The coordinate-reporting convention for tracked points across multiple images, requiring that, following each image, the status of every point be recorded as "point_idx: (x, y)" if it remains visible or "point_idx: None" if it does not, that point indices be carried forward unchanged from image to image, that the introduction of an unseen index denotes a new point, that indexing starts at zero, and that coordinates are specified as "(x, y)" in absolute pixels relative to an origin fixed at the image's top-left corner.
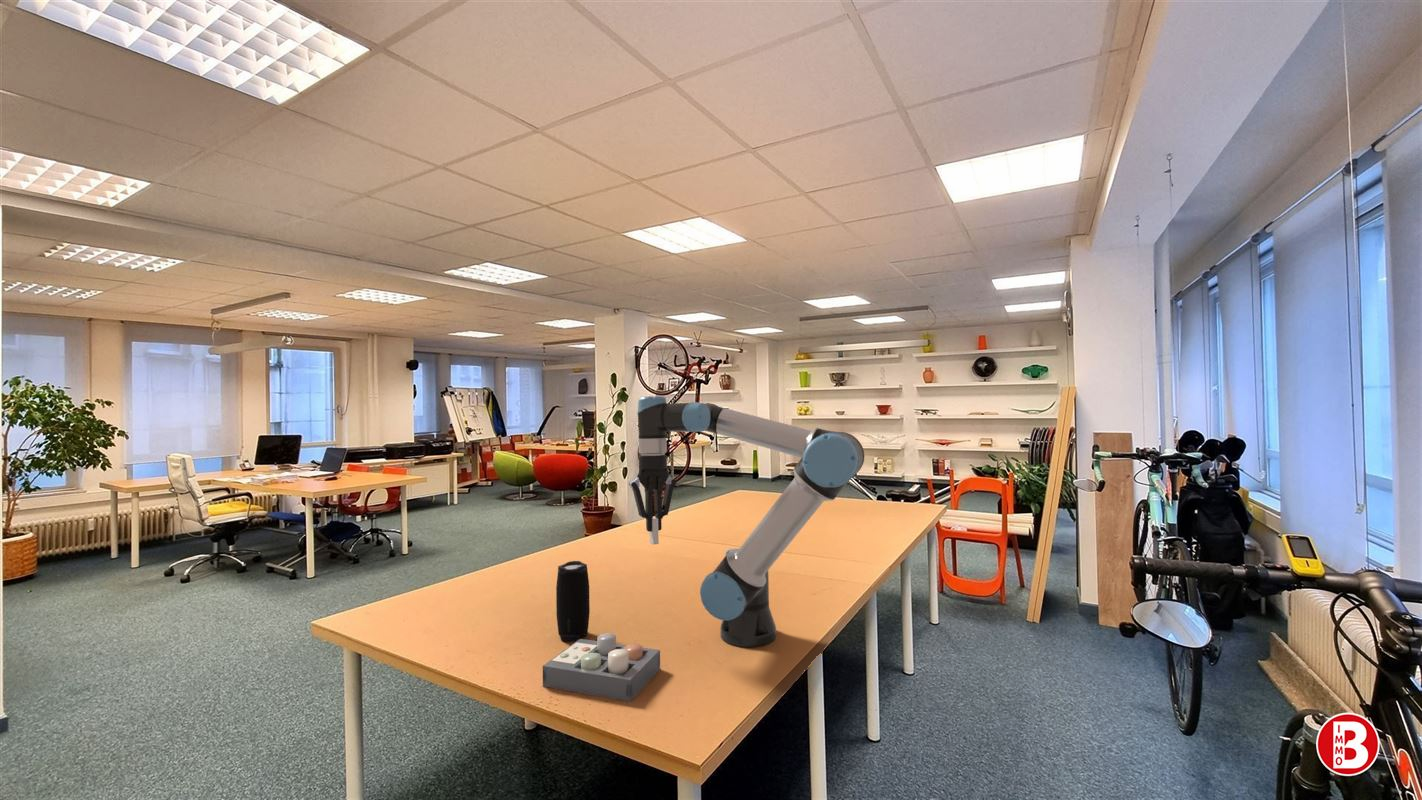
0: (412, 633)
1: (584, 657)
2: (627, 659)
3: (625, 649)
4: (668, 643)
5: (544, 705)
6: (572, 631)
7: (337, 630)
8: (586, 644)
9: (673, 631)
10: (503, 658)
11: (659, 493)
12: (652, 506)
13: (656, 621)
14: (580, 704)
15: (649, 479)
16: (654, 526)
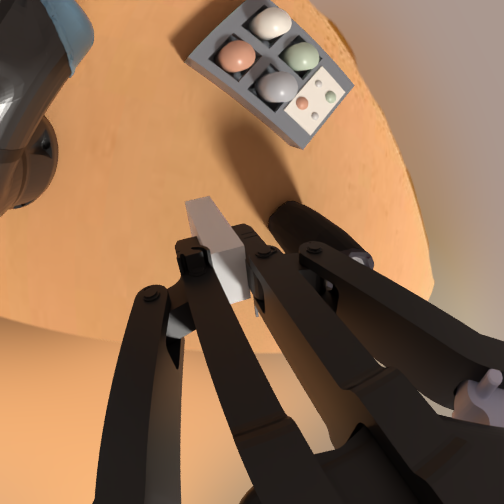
0: (408, 267)
1: (314, 59)
2: (260, 13)
3: (252, 54)
4: (148, 150)
5: (338, 43)
6: (299, 204)
7: (433, 281)
8: (298, 120)
9: (131, 199)
10: (365, 179)
11: (257, 420)
12: (282, 302)
13: (155, 247)
14: (304, 23)
15: (486, 473)
16: (222, 229)
